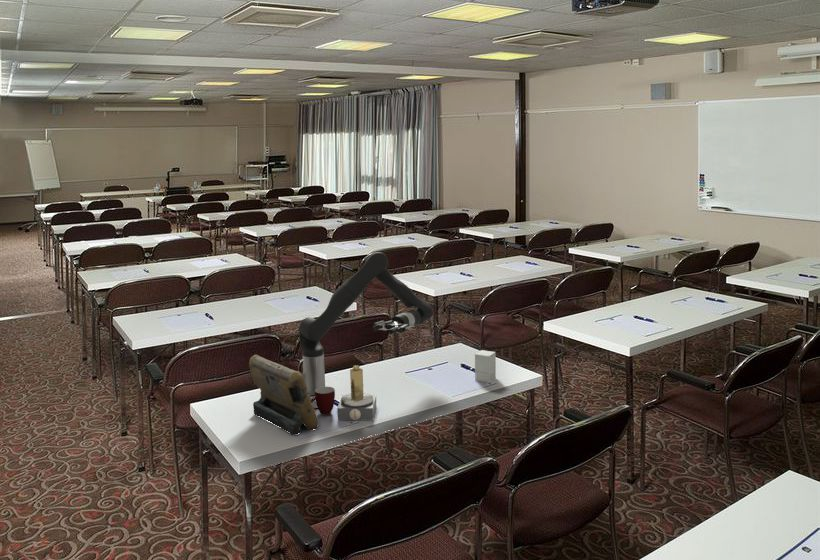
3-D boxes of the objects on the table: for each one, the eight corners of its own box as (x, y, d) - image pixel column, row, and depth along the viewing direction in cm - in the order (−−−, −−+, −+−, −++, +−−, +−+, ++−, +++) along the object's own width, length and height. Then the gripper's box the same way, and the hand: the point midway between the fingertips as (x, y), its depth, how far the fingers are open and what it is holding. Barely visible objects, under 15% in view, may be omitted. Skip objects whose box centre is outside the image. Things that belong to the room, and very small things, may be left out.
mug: (316, 420, 268) (314, 396, 266) (306, 414, 274) (305, 390, 272) (339, 413, 274) (338, 390, 272) (329, 407, 280) (328, 385, 278)
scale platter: (338, 406, 267) (338, 404, 267) (343, 394, 280) (343, 392, 279) (371, 407, 266) (371, 404, 266) (374, 394, 279) (374, 392, 279)
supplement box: (496, 378, 311) (496, 351, 309) (489, 383, 305) (489, 356, 303) (481, 375, 315) (481, 349, 313) (474, 380, 309) (474, 353, 307)
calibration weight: (350, 400, 270) (349, 368, 268) (352, 396, 275) (350, 364, 273) (362, 400, 270) (361, 368, 268) (364, 396, 275) (363, 364, 272)
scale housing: (337, 420, 267) (337, 408, 266) (343, 406, 281) (342, 395, 280) (372, 420, 266) (372, 408, 265) (376, 406, 280) (376, 395, 279)
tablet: (325, 426, 262) (322, 364, 257) (297, 438, 252) (294, 374, 247) (273, 406, 283) (269, 349, 278) (245, 416, 273) (241, 357, 268)
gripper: (389, 311, 300) (367, 319, 287) (416, 315, 292) (395, 324, 279) (389, 328, 301) (368, 337, 288) (416, 332, 294) (395, 341, 280)
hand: (381, 330), depth 283 cm, fingers open, 8 cm apart
